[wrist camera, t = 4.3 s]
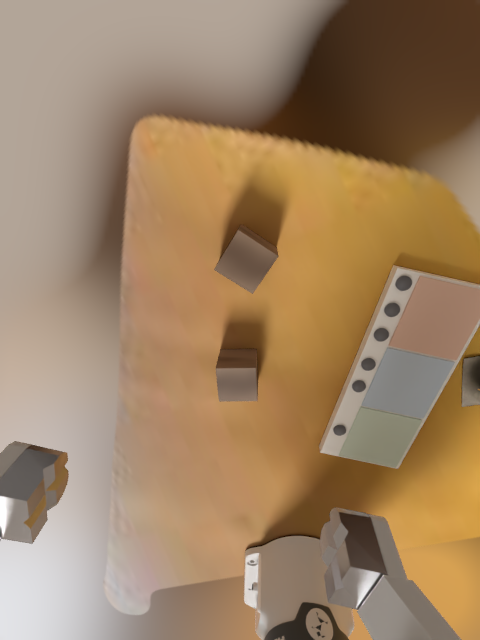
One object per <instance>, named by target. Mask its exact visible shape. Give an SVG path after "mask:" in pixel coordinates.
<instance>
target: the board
mask: <svg viewBox="0 0 480 640" xmlns="http://www.w3.org/2000/svg"><path fill="white" fill-rule="evenodd" d="M479 325H480V284H476V283H471V282H467V281H462V280H458V279H453V278H449V277H445V276H440V275H436V274H431V273H427V272H422V271H418V270H413V269H409V268H404V267H400V266H396V265H393V267H392V269H391V272H390V274H389V277H388V279H387V282H386V284H385V286H384V289H383V291H382V294H381V296H380V299H379V301H378V304H377V306H376V308H375V311H374V313H373V316H372V318H371V321H370V323H369V325H368V328H367V330H366V333H365V335H364V338H363V340H362V342H361V345H360V347H359V350H358V352H357V355H356V357H355V359H354V362H353V364H352V367H351V369H350V372H349V374H348V376H347V379H346V381H345V384H344V386H343V389H342V391H341V393H340V396H339V398H338V401H337V403H336V406H335V408H334V410H333V413H332V415H331V418H330V420H329V423H328V425H327V428H326V430H325V432H324V435H323V437H322V440H321V442H320V445H319V449H320V453H325V454H329V455H334V456H339V457H344V458H348V459H353V460H358V461H363V462H367V463H372V464H377V465H382V466H387V467H391V468H396V469H398V468H399V466H400V465H401V463H402V461H403V459H404V457H405V456H406V454H407V452H408V450H409V449H410V447H411V445H412V443H413V442H414V440H415V438H416V436H417V435H418V433H419V431H420V429H421V428H422V426H423V424H424V422H425V420H426V419H427V417H428V415H429V413H430V412H431V410H432V408H433V406H434V405H435V403H436V401H437V399H438V398H439V396H440V394H441V392H442V391H443V389H444V387H445V385H446V383H447V382H448V380H449V378H450V376H451V375H452V373H453V371H454V369H455V368H456V366H457V364H458V362H459V361H460V359H461V357H462V355H463V354H464V352H465V350H466V348H467V346H468V345H469V343H470V341H471V339H472V338H473V336H474V334H475V332H476V331H477V329H478V327H479Z"/></svg>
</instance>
